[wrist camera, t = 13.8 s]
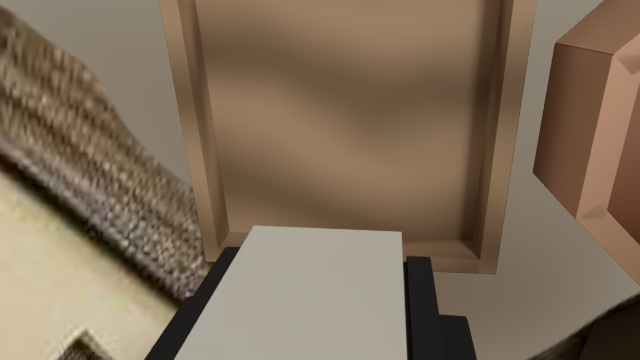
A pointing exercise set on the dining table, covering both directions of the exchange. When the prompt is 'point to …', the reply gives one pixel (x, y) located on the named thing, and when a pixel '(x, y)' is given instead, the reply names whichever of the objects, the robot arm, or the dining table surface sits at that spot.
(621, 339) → the beer bottle
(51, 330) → the dining table surface
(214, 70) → the walnut tray
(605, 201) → the bowl
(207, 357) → the white sharp-edged block
